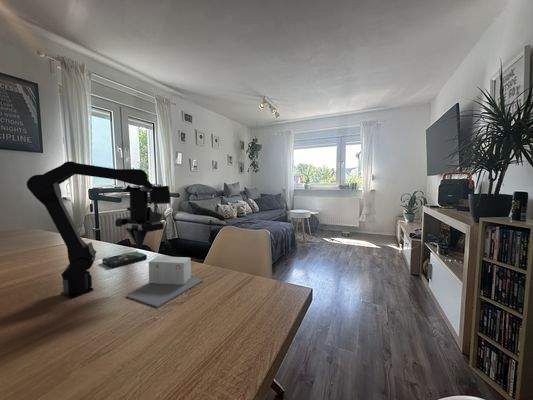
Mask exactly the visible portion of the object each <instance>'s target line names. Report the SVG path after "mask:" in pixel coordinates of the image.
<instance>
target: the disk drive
mask: <svg viewBox="0 0 533 400" xmlns="http://www.w3.org/2000/svg"><path fill="white" fill-rule="evenodd" d="M147 256H148V255H147V254H145V253H144V252H139V251H130V252H126V253H122V254H117V255H113V256H108V257H104V258H102V260H101V262H102V264H103V265H104V266H106V267H108V268H109V269H111V270H112V269H116V268H117V269H118V268H120V267H124V266H127V265H131V264H134V263H135V262H136V263H138V262H143V261H146V259H147V260H148V257H147Z"/></svg>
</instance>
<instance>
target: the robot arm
mask: <svg viewBox="0 0 533 400" xmlns="http://www.w3.org/2000/svg"><path fill="white" fill-rule="evenodd" d="M74 175H78V176H87V177H93V178H101V179H109V180H115V181H119V182H123V183H127V186H126V187H125V188H124V189H123V193H129V197H128V198H129V206H128V207H126V211H129V216H125V217H118V218H117V219H115V221H114V222H115V223H114V225H115V227H118V228H119V227H120V228H121V227H122V226H124V225H127V228H125V231H127V232H128V234H129V236H130V237H131V239H132V240H133V242H134V244H135V246H136V247H137V248H142V246H143V244H144V241H145V239H146V236H147V233H148V232H149V233H150V232H155V231H160V230H164V224H165V223H164V222H163V221H161V220H162V217H163V214H162V213H159V212H157V211H156V212H155V211H153V210H152V207H151V206H149V202H152V204H153V205H169V204H171V194H170V186H169V185H160V186H159V185H156V186H154V185H153V184H152V183H151V182H150V181H149V175H148V174H147V173H146V171H145V170H143V169H140V168H123V169H122V168H111V167H106V166H99V165H93V164H91V165H90V164H85V163H78V162H76V161H75V162H74V161H72V160H71V161H65V162H64V163H63V164H61V165H59V166H57V167H55V168H52V169H51V170H49V171H46V172H45V173H43V174H35V175H31V177H29V178H28V180H27V181H26V187H27V189H28V190H29V191H30V193H31V195H32V196H34V197H35V199H36V200H37V201H39V202H40V203H41V204H42V205H43V206H44V208H45V210H46V211H47V213H48V214H49V217H50V218H51V220H52V222H53V224H54V226H55V227H56V229H57V231H58V234H59V235H60V237H61V239H62V240H63V242H64V244H65V246H66V249H67V258H68V262H69V264H67V266H66V267H65V269H64V270H63V271H62V273H61V274H60V275H61V277H62V288H63V289H62V290H63V291H61V292H60V295H62V296H64V297H67V298H69V299H73V298H76V297H78V296H81V295H84V294H87V293H89V292H92V291H94V288H93V282H92V280H93V279H92V274H91V271H90V270H89V269H91V268H92V266H93V264H94V263H95V260H96V254H97V251H96V249H94V245H93V242H92V241H91V242H88V243H86V242H85V241H84V240H83V239H82V236H81V235H80V233H79V231H78V228H77V227H76V224H75V223H74V221H73V220H72V217H71V216H70V213H69V212H68V209H67V207H66V205H65V203H64V202H63V196H62V190H61V186H60V184H62V183H64V182H65V181H67V180H68V179H70V178H71V177H73V176H74ZM130 185H133V186H132V187H131V186H130ZM135 186H136V187H135ZM141 186H142V187H144V188H145V189H146V190H145V189H141ZM147 189H149V190H147ZM148 193H149V194H148ZM148 195H149V197H148Z"/></svg>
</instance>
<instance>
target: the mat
mask: <svg viewBox="0 0 533 400" xmlns="http://www.w3.org/2000/svg"><path fill="white" fill-rule="evenodd" d="M202 281H203V282H204V279H200V278H196V277H191V278H190V279H189V280H188V281H187V282H186V283H185V284H184V285H175V284H157V283H149V284H148V285H147V286H143V287H142V288H140V289H138V290H135V291H133V292H132V293H129V294H125V295H126V298H128V299H131V300H133V301H136V302H139V303H142V304H146V305H149V306H151V307H154V308H157V309H158V308H160V307H162V306H163V305H165V304H167V303H168V302H170V301H172V300H174V299H176V298H177V297H179V296H180V295H182V294H184V293H185V291H186V292H187V291H189V290H191V289H192V288H194V287H195V285H196V286H198V285H199V284H201V283H203V282H202ZM200 282H201V283H200ZM197 284H198V285H197ZM190 288H191V289H190Z"/></svg>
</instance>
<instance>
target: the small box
mask: <svg viewBox="0 0 533 400" xmlns="http://www.w3.org/2000/svg"><path fill="white" fill-rule="evenodd" d="M191 264H192V261H191V257H187V256H186V257H184V256H183V257H182V256H161V255H159V256H156V257H154V258H153V259H151V260H149V261H148V283H149V284H152V283H157V284H175V285H184V284H185V283H186V282H187V281H188V280H189V279H190V278H191V276H192V274H191V273H192V272H191V271H192V270H191V268H192V267H191Z"/></svg>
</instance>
